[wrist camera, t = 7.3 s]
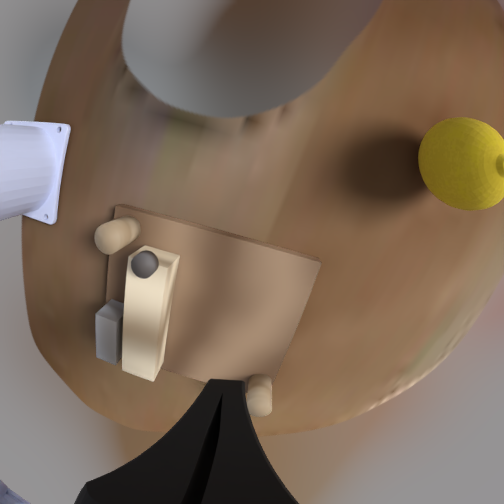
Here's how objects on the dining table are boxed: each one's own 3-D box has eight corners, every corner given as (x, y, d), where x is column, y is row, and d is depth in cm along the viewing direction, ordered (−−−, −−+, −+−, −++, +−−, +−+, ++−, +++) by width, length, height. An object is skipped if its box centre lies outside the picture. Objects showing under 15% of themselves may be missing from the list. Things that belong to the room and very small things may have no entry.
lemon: (425, 216, 18) (498, 244, 10) (384, 151, 17) (454, 145, 9) (468, 173, 16) (543, 183, 9) (432, 111, 15) (505, 92, 8)
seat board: (110, 341, 22) (88, 367, 18) (122, 203, 18) (91, 212, 15) (266, 389, 22) (266, 423, 18) (318, 258, 19) (331, 280, 15)
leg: (146, 235, 18) (123, 248, 15) (182, 245, 18) (164, 260, 15) (134, 351, 20) (117, 376, 17) (163, 361, 20) (150, 388, 17)
